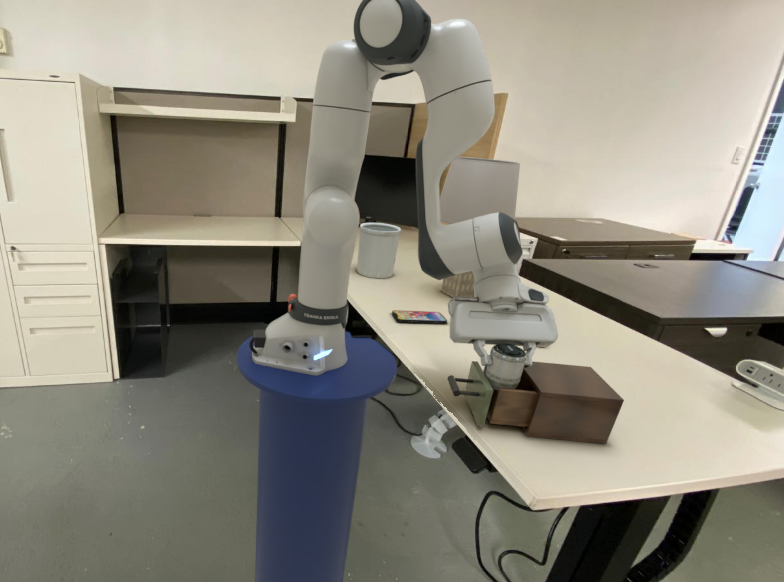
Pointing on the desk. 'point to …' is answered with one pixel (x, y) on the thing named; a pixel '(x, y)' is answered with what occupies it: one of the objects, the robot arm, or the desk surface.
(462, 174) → the lamp
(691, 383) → the desk surface
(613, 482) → the desk surface
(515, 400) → the drawer
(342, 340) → the robot arm
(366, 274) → the utensil holder
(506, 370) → the camera lens
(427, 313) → the smartphone
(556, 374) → the cabinet
